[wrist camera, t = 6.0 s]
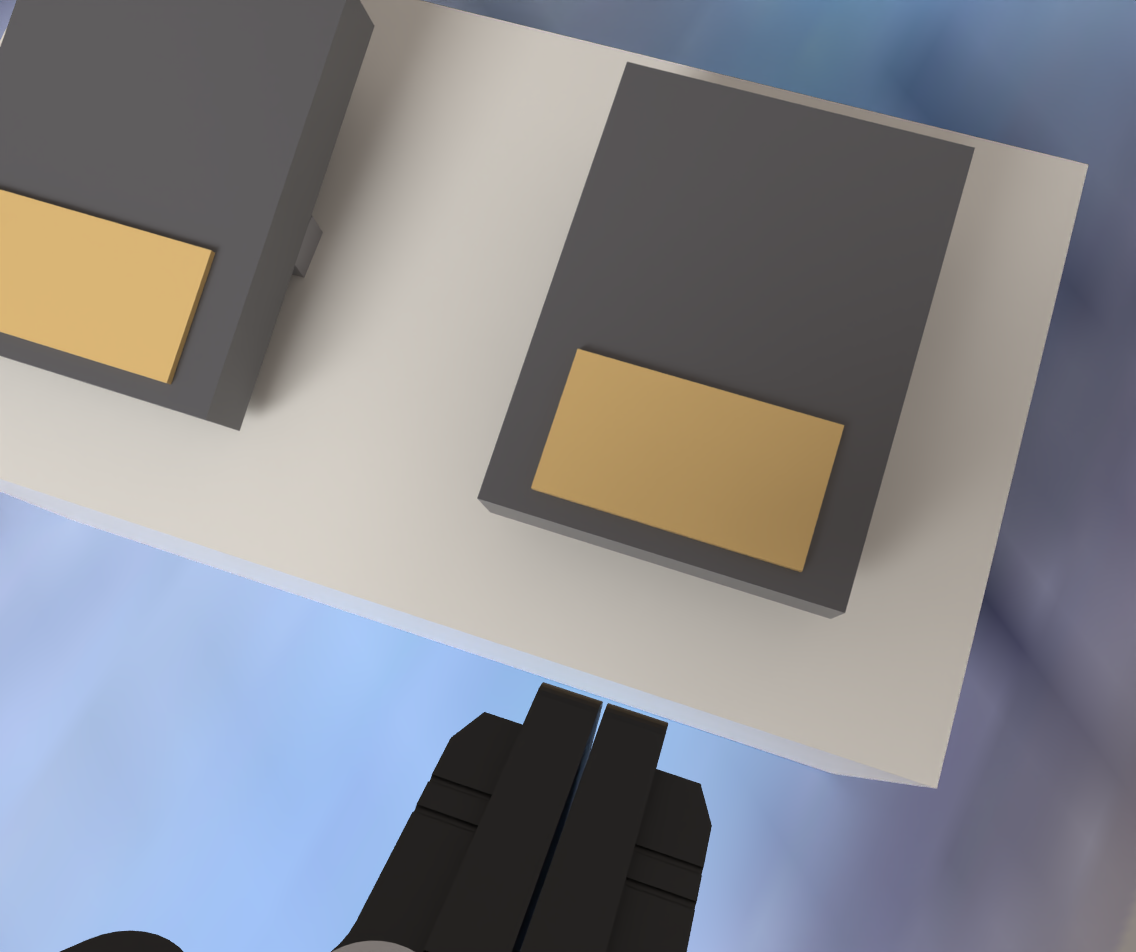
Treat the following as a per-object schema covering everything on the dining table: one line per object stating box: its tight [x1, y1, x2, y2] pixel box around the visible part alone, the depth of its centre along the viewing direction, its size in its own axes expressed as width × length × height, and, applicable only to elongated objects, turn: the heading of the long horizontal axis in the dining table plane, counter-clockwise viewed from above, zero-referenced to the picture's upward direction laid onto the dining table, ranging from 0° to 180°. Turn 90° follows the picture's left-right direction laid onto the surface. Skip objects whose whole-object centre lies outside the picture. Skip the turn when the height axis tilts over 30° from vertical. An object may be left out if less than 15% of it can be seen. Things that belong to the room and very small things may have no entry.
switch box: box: [0, 0, 1088, 789], centre depth 25 cm, size 22×12×11 cm, turn 72°
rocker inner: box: [0, 0, 374, 431], centre depth 20 cm, size 6×8×2 cm
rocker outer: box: [477, 62, 975, 619], centre depth 18 cm, size 6×8×2 cm
